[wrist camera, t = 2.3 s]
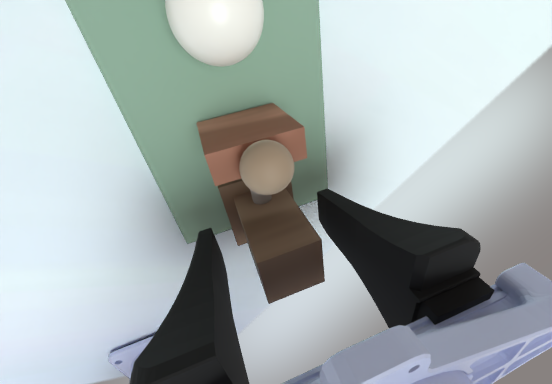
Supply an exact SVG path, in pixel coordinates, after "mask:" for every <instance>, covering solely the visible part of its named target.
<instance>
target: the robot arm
mask: <svg viewBox="0 0 552 384" xmlns="http://www.w3.org/2000/svg"><path fill="white" fill-rule="evenodd" d="M317 200H318V213H319V220H320V222H321V224H322V226H323V227H324V229H325V231H326V232H327V234H328V235H329V237H330V238H331V239H332V241H333V242H334V243H335V244H336V246H337V247H338V248H339V249H340V251H341V252H342V253H343V254H344V256H345V257H346V258H347V260H348V261H349V262H350V263H351V264H352V266H353V268H354V269H355V271H356V272H357V274H358V275H359V277H360V279H361V280H362V282H363V283H364V285H365V287H366V288H367V290H368V292H369V293H370V295H371V296H372V298H373V300H374V302H375V303H376V305H377V307H378V309H379V311H380V312H381V314H382V316H383V318H384V320H385V321H386V323H387V325H388V327H389V329H387V330H385V331H382V332H380V333H378V334H376V335H374V336H372V337H369V338H367V339H366V340H363V341H361V342H359V343H357V344H354V345H352V346H350V347H348V348H346V349H344V350H341V351H340V352H338V353H336V354H335V355H333V356H331V357H330V358H329V359H328V360H327V361H326V362H325V363H324V364H322V365H320V366H318V367H316V368H314V369H312V370H310V371H307V372H305V373H303V374H301V375H299V376H297V377H294V378H292V379H290V380H288V381H286V382H284V383H282V384H493V383H494V382H495V381H497V380H499V379H500V378H502V377H504V376H505V375H507V374H508V373H510V372H511V371H513V370H515V369H516V368H518V367H520V366H521V365H523V364H524V363H526V362H528V361H529V360H531V359H532V358H534V357H536V356H538V355H539V354H541V353H542V352H544V351H546V350H548V349H550V348H551V347H552V281H551V280H550V279H548V278H546V277H545V276H543V275H542V274H541V273H539V272H538V271H536V270H535V269H533V268H531V267H530V266H529V265H527V264H526V263H520V264H518V265H516V266H513V267H511V268H509V269H507V270H505V271H503V272H502V273H501V274H500V275H499V276H498V277H497V279H496V282H495V284H494V285H492V286H489V285H488V284H486V283H485V282H484V281H483V280H482V279H480V278H479V276H480V273H479V272H478V271H477V270H476V269H475V268H473V267H474V265H475V262H476V260H477V258H478V255H479V253H480V243H479V242H478V240H476V239H475V238H473V237H472V236H470V235H469V234H468V233H466V232H465V231H463V230H462V229H459V228H450V227H440V226H433V225H427V224H421V223H416V222H412V221H407V220H403V219H399V218H396V217H392V216H389V215H386V214H382V213H380V212H377V211H374V210H372V209H369V208H367V207H364V206H362V205H360V204H358V203H355V202H353V201H351V200H349V199H347V198H345V197H343V196H341V195H339V194H337V193H335V192H333V191H331V190H329V189H324V190H321V191H318V192H317ZM108 361H109V362H110V363H111V364H112V365H113V366H115V367H116V368H117V369H118V370H119V371H121V372H122V373H123V374H124V375H125V376H127V377H128V378H129V379H130V380H129V384H249V381H248V377H247V373H246V369H245V365H244V361H243V357H242V353H241V349H240V345H239V341H238V337H237V332H236V328H235V324H234V320H233V315H232V309H231V301H230V294H229V286H228V279H227V272H226V268H225V264H224V260H223V256H222V253H221V250H220V248H219V246H218V243H217V241H216V238H215V236H214V233H213V231H212V228H208V229H205V230H202V231H199V233H198V237H197V242H196V247H195V251H194V254H193V257H192V261H191V264H190V267H189V270H188V272H187V275H186V278H185V280H184V283H183V285H182V287H181V290H180V292H179V294H178V296H177V298H176V300H175V302H174V304H173V305H172V307H171V309H170V311H169V313H168V314H167V316H166V318H165V319H164V321H163V323H162V324H161V326H160V327H159V329H158V330H157V332H156V333H155V335H154V336H152V337H149V338H146V339H144V340H141V341H139V342H136V343H134V344H131V345H129V346H126V347H124V348H121V349H119V350H116V351H114V352H112V353H110V354H109V357H108Z"/></svg>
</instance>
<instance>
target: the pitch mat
mask: <svg viewBox="0 0 552 384" xmlns="http://www.w3.org/2000/svg"><path fill="white" fill-rule="evenodd" d="M65 1H66V3H67V5H68V7H69V9H70V11H71V13H72V15H73V17H74V19H75V21H76V23H77V25H78V27H79V29H80V31H81V33H82V35H83V37H84V39H85V41H86V43H87V45H88V47H89V49H90V51H91V53H92V55H93V57H94V59H95V61H96V63H97V65H98V67H99V69H100V71H101V73H102V75H103V77H104V79H105V81H106V83H107V85H108V87H109V89H110V91H111V93H112V95H113V97H114V99H115V101H116V103H117V105H118V107H119V109H120V111H121V113H122V115H123V117H124V119H125V121H126V123H127V125H128V127H129V129H130V131H131V133H132V135H133V137H134V139H135V141H136V143H137V145H138V147H139V149H140V151H141V153H142V155H143V157H144V159H145V161H146V163H147V165H148V166H149V168H150V170H151V172H152V174H153V176H154V178H155V180H156V182H157V184H158V186H159V188H160V190H161V192H162V194H163V196H164V198H165V200H166V202H167V204H168V206H169V208H170V210H171V212H172V214H173V216H174V218H175V220H176V222H177V224H178V226H179V228H180V230H181V232H182V234H183V236H184V238H185V240H186V242H187V244H189V243H192V242H195V241H197V237H198V233H199V231H202V230H205V229H208V228H212V231H213V233H214V235H215V234H218V233H221V232H224V231H227V230H230V229H232V227H231V224H230V221H229V218H228V216H227V213H226V210H225V207H224V204H223V201H222V198H221V195H220V192H219V189H218V186H215V184H214V181H213V178H212V175H211V173H210V170H209V167H208V164H207V161H206V158H205V155H204V152H203V148H202V144H201V140H200V136H199V131H198V127H197V122H201V121H205V120H209V119H213V118H216V117H220V116H224V115H228V114H232V113H236V112H240V111H243V110H247V109H251V108H255V107H259V106H263V105H266V104H270V103H274V104H275V105H277V106H278V107H279V108H280V109H282V110H283V111H284V112H286V113H287V114H288V115H290V116H291V117H292V118H294V119H295V120H296V121H297V122H299V123H300V124H301V125H303V126H304V128H305V139H306V149H307V158H306V159H303V160H299V161H296V162H294V174H293V178H292V180H291V183H292V190H293V197H294V201H295V202H296V204H297V205H298V206H300V205H303V204H306V203H309V202H312V201H315V200H317V192H318V191H321V190H324V189H328V183H327V162H326V142H325V121H324V101H323V80H322V60H321V39H320V19H319V0H262V1H263V8H264V23H263V29H262V33H261V36H260V39H259V41H258V43H257V45H256V47H255V48H254V50H253V51H252V52H251V53H250V54H249V55H248V56H247V57H246V58H245V59H243V60H242V61H240V62H238V63H236V64H234V65H230V66H224V67H218V66H211V65H208V64H205V63H203V62H200V61H199V60H197V59H195V58H194V57H192V56H191V55H190V54H188V53H187V52H186V51H185V50H184V49H183V47H182V46H181V45H180V44H179V42H178V41H177V39H176V38H175V36H174V34H173V32H172V30H171V28H170V25H169V23H168V19H167V15H166V9H165V0H65Z"/></svg>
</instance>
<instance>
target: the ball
mask: <svg viewBox="0 0 552 384" xmlns="http://www.w3.org/2000/svg"><path fill="white" fill-rule="evenodd" d="M165 9H166V15H167V19H168V23H169V25H170V28H171V30H172V32H173V34H174V36H175V38H176V39H177V41H178V42H179V44H180V45H181V46H182V47H183V49H184V50H185V51H186V52H187V53H188V54H190V55H191V56H192V57H194V58H195V59H197V60H199V61H200V62H203V63H205V64H208V65H211V66H218V67H224V66H230V65H234V64H236V63H238V62H240V61H242V60H243V59H245V58H246V57H247V56H248V55H249V54H250V53H251V52H252V51H253V50H254V48H255V47H256V45H257V43H258V41H259V39H260V36H261V33H262V29H263V23H264V8H263V1H262V0H165Z"/></svg>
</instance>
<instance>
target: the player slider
mask: <svg viewBox="0 0 552 384" xmlns="http://www.w3.org/2000/svg"><path fill="white" fill-rule="evenodd" d="M197 127H198V131H199V136H200V140H201V144H202V148H203V152H204V155H205V158H206V161H207V164H208V167H209V170H210V173H211V175H212V178H213V181H214V184H215V186H218V189H219V192H220V195H221V198H222V201H223V204H224V207H225V210H226V213H227V216H228V218H229V221H230V224H231V227H232V230H233V233H234V236H235V239H236V242H237V245H238V246H239V245H242V244H245V243H248V245H249V248H250V251H251V254H252V257H253V260H254V263H255V266H256V268H257V271H258V274H259V277H260V280H261V283H262V286H263V289H264V291H265V294H266V297H267V300H268V303H269V304H270V303H272V302H275V301H277V300H279V299H282V298H284V297H287V296H289V295H292V294H294V293H297V292H299V291H302V290H304V289H307V288H309V287H312V286H314V285H316V284H319V283H322V282H324V281H325V279H324V267H323V253H322V240H321V238H320V237H319V235H318V234H317V232H316V231H315V230H314V228H313V227H312V225H311V224H310V222H309V221H308V220H307V218H306V217H305V215H304V214H303V212H302V211H301V210H300V208H299V207H298V205H297V204H296V202H295V201H294V197H293V190H292V183H291V180H292V178H293V174H294V162H296V161H299V160H303V159H306V158H307V149H306V139H305V128H304V126H303V125H301V124H300V123H299V122H297V121H296V120H295V119H294V118H292V117H291V116H290V115H288V114H287V113H286V112H284V111H283V110H282V109H280V108H279V107H278V106H277V105H275V104H274V103H270V104H266V105H263V106H259V107H255V108H251V109H247V110H243V111H240V112H236V113H232V114H228V115H224V116H220V117H216V118H213V119H209V120H205V121H201V122H197Z"/></svg>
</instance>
